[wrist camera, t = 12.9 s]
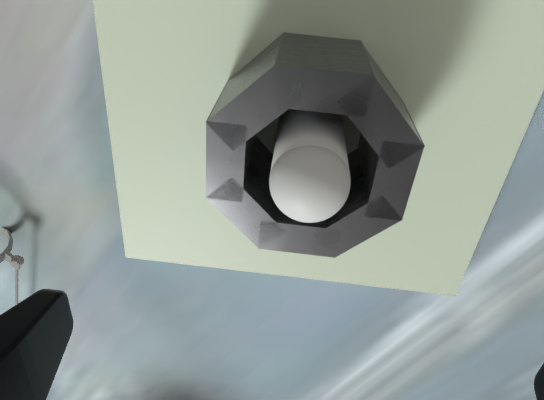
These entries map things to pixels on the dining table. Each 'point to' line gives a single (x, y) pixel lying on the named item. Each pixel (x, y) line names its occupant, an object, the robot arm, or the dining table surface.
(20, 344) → the robot arm
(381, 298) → the dining table surface
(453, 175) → the post board
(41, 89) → the dining table surface
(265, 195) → the hub ring
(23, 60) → the dining table surface
